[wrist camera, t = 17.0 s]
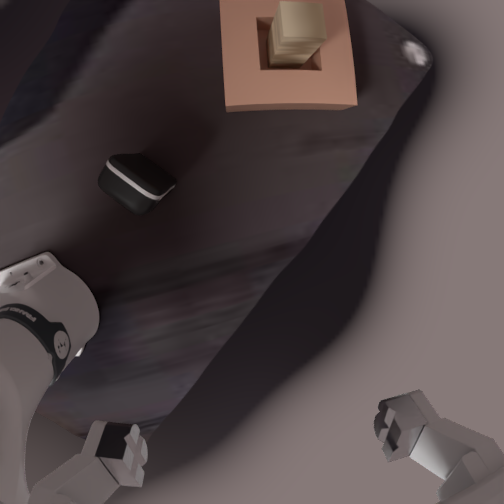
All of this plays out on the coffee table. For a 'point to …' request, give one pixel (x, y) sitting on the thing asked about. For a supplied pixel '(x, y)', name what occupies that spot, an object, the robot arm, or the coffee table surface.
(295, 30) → the maple pin
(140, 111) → the coffee table surface
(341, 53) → the terracotta socket block
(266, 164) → the coffee table surface
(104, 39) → the coffee table surface
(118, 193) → the battery charger
